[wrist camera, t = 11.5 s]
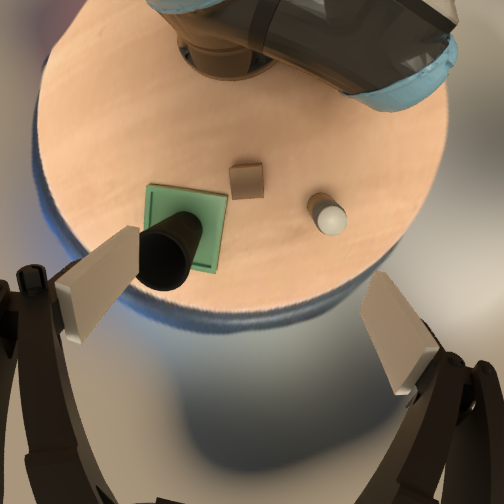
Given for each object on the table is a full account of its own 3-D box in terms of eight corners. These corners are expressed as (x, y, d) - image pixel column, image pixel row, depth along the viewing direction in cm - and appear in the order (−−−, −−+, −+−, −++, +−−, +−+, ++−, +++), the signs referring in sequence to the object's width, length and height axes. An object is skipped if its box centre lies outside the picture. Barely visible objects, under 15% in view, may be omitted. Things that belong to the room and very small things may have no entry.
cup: (187, 262, 44) (163, 303, 33) (152, 229, 42) (116, 261, 31) (220, 229, 42) (203, 263, 30) (182, 193, 40) (151, 215, 29)
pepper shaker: (310, 190, 39) (321, 202, 32) (336, 196, 39) (352, 209, 32) (304, 216, 41) (313, 233, 34) (330, 222, 41) (343, 240, 34)
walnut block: (233, 165, 39) (229, 168, 34) (261, 163, 38) (261, 166, 34) (236, 192, 40) (232, 199, 35) (263, 190, 40) (263, 197, 35)
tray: (150, 183, 40) (146, 185, 38) (227, 195, 40) (226, 197, 39) (146, 255, 44) (142, 259, 43) (216, 269, 45) (215, 274, 43)
